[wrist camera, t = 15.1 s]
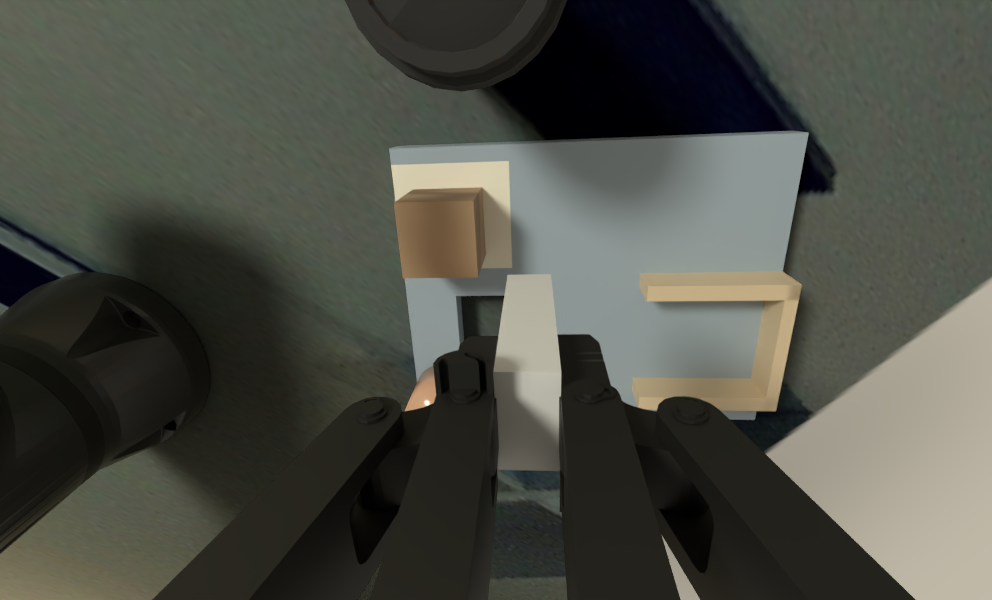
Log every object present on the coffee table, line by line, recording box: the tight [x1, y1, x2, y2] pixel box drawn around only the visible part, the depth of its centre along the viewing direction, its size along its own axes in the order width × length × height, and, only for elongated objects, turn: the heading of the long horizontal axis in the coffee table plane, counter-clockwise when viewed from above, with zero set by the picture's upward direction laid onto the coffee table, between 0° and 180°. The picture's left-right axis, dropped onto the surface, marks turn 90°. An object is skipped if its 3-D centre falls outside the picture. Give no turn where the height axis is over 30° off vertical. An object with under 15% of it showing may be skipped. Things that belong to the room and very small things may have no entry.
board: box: [389, 131, 809, 420], centre depth 33 cm, size 25×20×4 cm
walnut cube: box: [394, 187, 486, 278], centre depth 30 cm, size 4×4×4 cm
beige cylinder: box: [405, 366, 436, 411], centre depth 35 cm, size 4×4×4 cm
